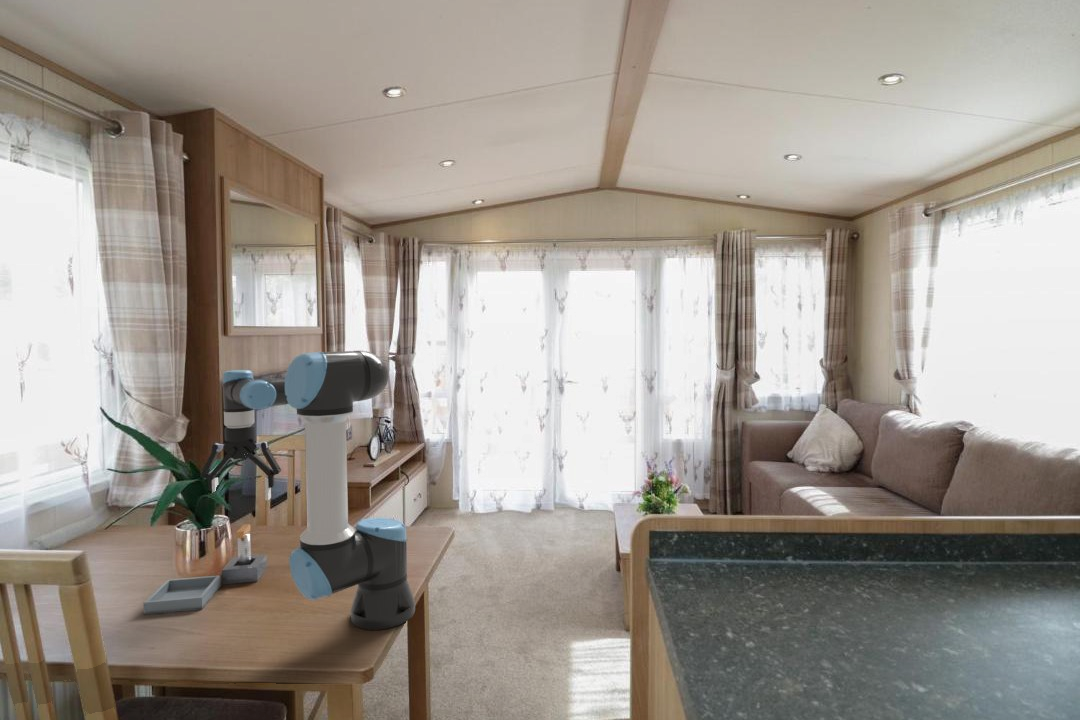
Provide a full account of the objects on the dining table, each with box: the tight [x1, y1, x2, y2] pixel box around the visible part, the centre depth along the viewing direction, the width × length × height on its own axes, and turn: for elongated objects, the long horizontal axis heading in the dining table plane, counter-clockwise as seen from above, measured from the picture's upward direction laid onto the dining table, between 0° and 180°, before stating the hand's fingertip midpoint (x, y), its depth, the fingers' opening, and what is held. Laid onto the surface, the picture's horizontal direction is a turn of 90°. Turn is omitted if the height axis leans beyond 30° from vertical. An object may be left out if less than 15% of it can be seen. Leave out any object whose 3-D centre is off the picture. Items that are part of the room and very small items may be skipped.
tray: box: [143, 574, 222, 615], centre depth 146 cm, size 13×13×3 cm
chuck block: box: [221, 554, 268, 585], centre depth 160 cm, size 9×9×4 cm
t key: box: [236, 523, 252, 566], centre depth 159 cm, size 6×3×14 cm, turn 11°
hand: (242, 500), depth 159 cm, fingers open, 13 cm apart
